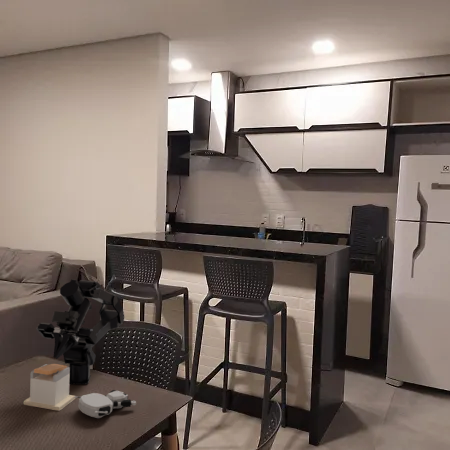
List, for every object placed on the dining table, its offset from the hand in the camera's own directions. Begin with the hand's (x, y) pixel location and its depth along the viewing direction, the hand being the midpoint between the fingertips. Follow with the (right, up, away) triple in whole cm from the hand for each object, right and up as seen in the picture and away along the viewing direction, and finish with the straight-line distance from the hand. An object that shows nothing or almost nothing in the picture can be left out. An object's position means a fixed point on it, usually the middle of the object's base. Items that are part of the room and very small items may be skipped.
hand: (55, 358), depth 133 cm
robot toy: (+17, -14, -5) cm, 22 cm away
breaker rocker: (-1, -3, -2) cm, 4 cm away
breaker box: (-1, -13, -1) cm, 13 cm away
